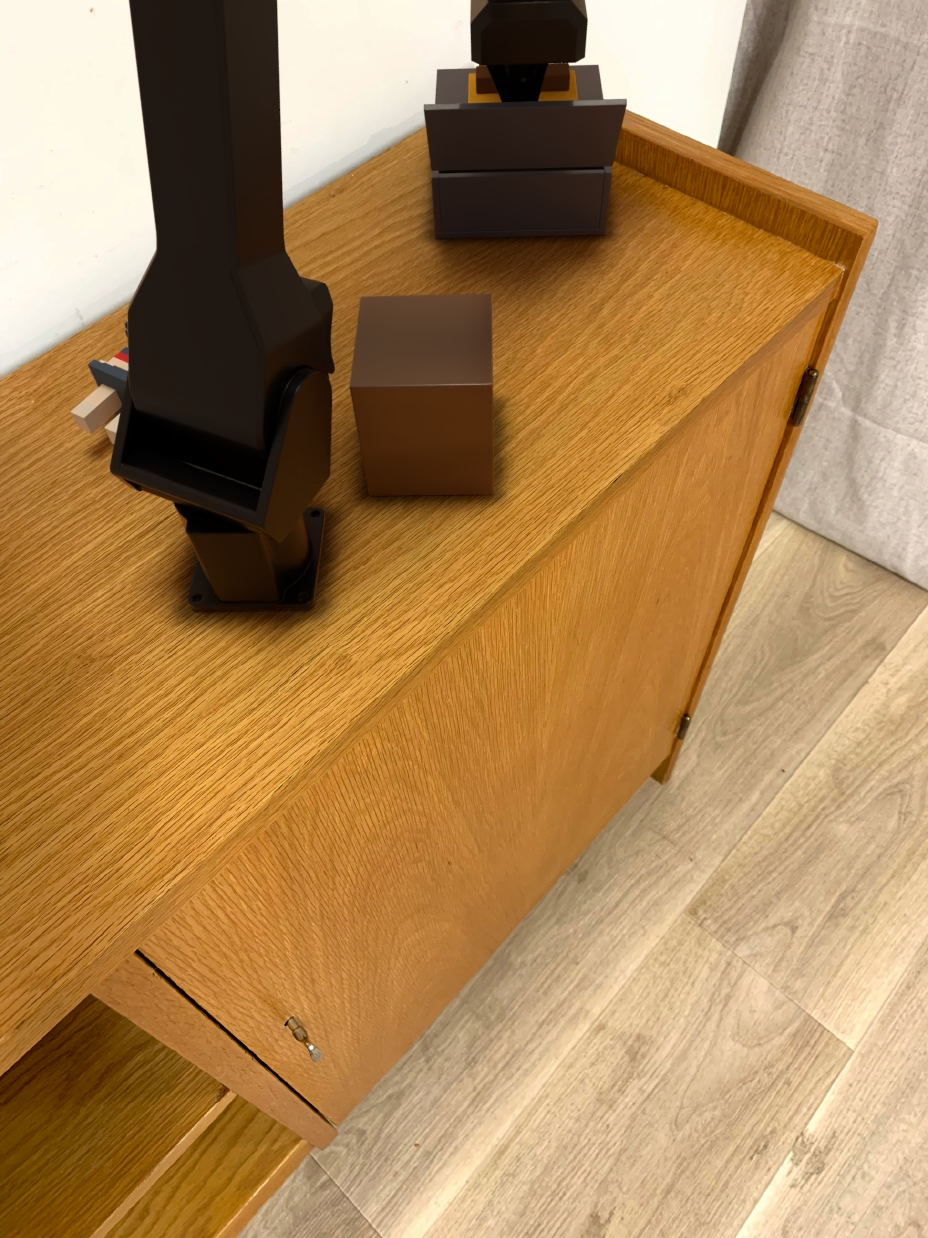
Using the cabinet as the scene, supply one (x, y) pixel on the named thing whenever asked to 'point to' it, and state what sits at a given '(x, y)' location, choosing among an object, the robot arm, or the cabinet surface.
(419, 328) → the stand
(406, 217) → the cabinet surface
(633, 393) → the cabinet surface
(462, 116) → the flap
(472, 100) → the duster
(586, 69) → the case
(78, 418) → the figurine
